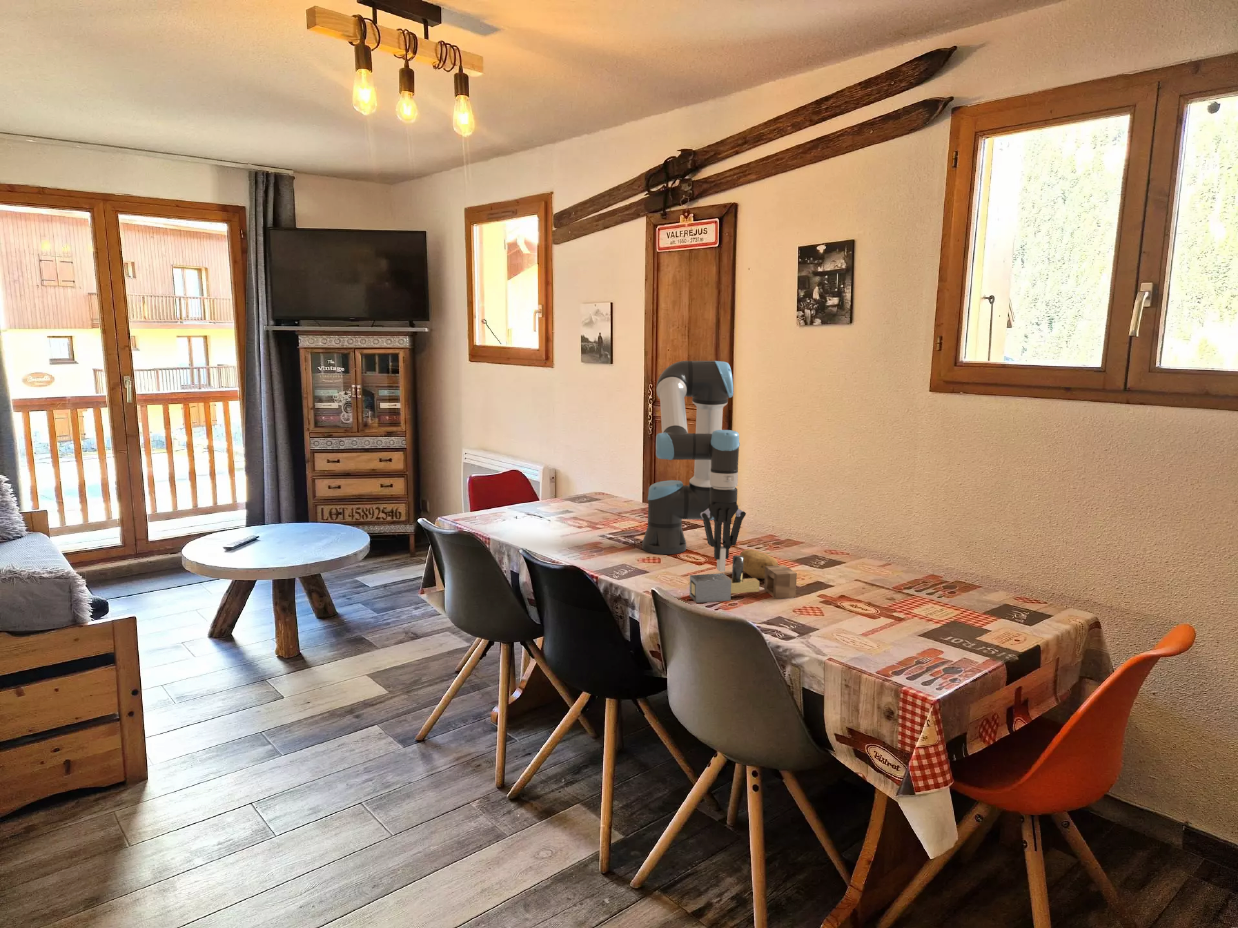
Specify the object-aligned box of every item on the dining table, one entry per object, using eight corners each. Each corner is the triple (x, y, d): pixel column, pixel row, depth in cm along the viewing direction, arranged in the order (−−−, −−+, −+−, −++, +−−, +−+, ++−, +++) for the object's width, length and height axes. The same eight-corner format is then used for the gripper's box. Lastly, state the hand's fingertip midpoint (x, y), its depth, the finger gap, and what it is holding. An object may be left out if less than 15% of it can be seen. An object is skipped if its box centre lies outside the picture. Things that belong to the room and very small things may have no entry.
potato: (762, 586, 226) (763, 560, 225) (731, 574, 238) (732, 549, 237) (786, 581, 231) (788, 555, 230) (754, 569, 243) (755, 544, 242)
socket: (764, 589, 224) (765, 566, 222) (783, 588, 225) (784, 565, 224) (775, 598, 216) (776, 574, 215) (795, 597, 217) (796, 573, 216)
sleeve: (689, 595, 217) (689, 575, 216) (722, 593, 220) (723, 573, 219) (696, 602, 212) (696, 581, 211) (730, 600, 214) (731, 579, 213)
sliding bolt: (691, 592, 216) (692, 557, 214) (754, 588, 220) (756, 554, 218) (694, 595, 213) (695, 560, 211) (759, 591, 217) (760, 557, 215)
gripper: (705, 490, 206) (703, 575, 210) (751, 488, 209) (748, 572, 213) (696, 485, 213) (694, 567, 217) (741, 483, 216) (737, 565, 220)
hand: (720, 570), depth 215 cm, fingers closed
